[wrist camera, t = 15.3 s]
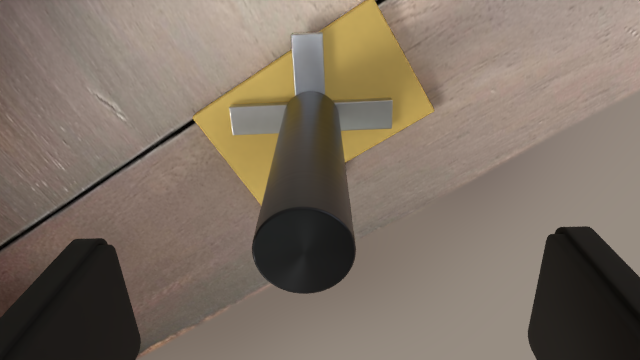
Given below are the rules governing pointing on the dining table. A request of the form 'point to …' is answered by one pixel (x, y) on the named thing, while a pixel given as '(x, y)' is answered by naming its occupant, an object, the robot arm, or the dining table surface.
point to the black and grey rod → (307, 175)
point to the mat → (340, 84)
